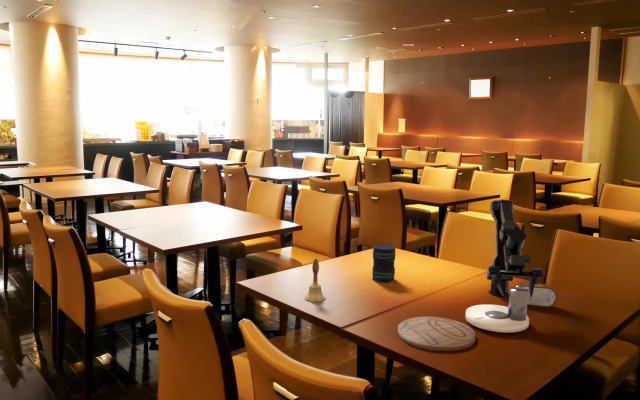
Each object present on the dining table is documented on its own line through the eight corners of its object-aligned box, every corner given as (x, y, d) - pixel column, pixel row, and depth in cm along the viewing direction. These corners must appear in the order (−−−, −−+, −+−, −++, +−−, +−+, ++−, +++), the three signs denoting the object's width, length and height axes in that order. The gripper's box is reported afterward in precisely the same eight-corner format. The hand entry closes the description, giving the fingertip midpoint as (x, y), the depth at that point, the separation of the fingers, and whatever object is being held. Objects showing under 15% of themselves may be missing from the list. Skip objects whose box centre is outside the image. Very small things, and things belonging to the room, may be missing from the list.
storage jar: (398, 278, 235) (399, 245, 233) (388, 284, 227) (389, 250, 225) (378, 274, 241) (379, 242, 238) (368, 280, 232) (369, 247, 230)
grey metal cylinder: (516, 313, 186) (519, 282, 185) (529, 319, 181) (532, 287, 179) (503, 315, 184) (506, 284, 182) (516, 321, 178) (519, 290, 177)
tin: (556, 306, 203) (558, 285, 201) (557, 309, 200) (558, 287, 198) (514, 301, 207) (516, 281, 206) (514, 304, 204) (516, 283, 203)
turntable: (498, 306, 199) (498, 301, 198) (542, 326, 180) (542, 320, 180) (453, 314, 190) (453, 309, 190) (494, 336, 171) (495, 330, 171)
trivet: (425, 358, 158) (426, 352, 158) (383, 327, 181) (383, 322, 180) (491, 345, 168) (492, 339, 168) (443, 317, 191) (444, 312, 190)
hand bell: (307, 294, 213) (307, 255, 211) (327, 296, 211) (328, 257, 209) (302, 301, 205) (302, 261, 203) (323, 303, 203) (323, 262, 201)
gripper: (489, 243, 187) (492, 283, 178) (545, 246, 184) (551, 286, 175) (485, 260, 196) (487, 298, 187) (538, 262, 193) (543, 301, 184)
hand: (517, 296), depth 183 cm, fingers open, 9 cm apart
